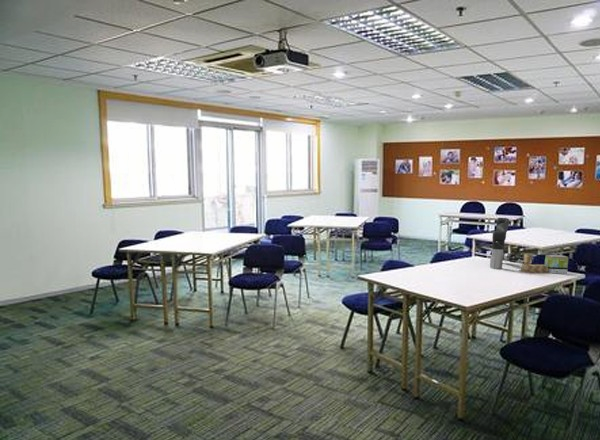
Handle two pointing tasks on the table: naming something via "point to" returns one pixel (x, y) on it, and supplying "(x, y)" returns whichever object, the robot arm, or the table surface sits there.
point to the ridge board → (534, 268)
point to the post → (527, 259)
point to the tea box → (556, 263)
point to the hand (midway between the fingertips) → (521, 260)
